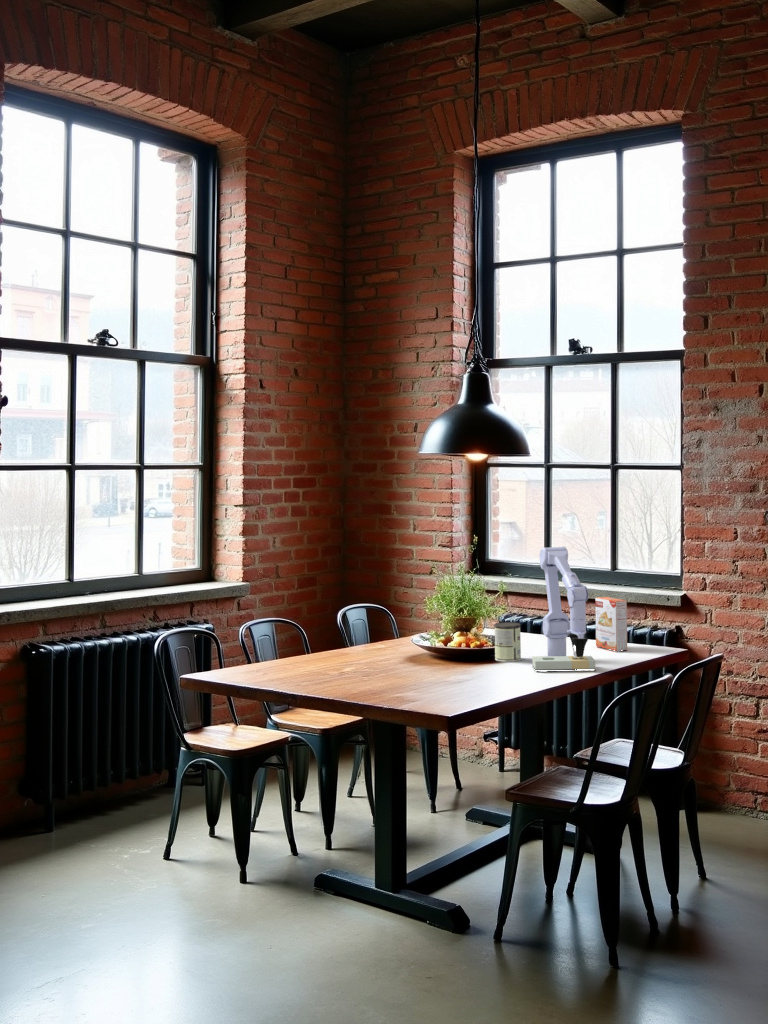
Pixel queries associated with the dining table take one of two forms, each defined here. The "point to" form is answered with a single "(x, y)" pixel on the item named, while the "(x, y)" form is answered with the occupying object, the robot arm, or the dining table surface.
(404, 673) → the dining table surface
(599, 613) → the cracker box
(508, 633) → the coffee can
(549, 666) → the hole block
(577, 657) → the steel peg
